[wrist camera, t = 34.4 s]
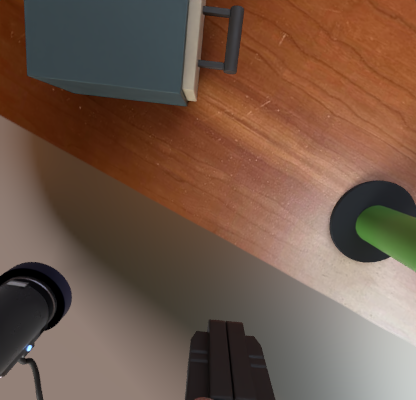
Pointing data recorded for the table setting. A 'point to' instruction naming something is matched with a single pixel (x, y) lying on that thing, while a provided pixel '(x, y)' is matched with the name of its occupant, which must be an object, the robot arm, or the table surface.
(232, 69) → the drawer
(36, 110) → the table surface
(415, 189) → the table surface
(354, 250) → the mat
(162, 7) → the cabinet
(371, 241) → the chip tube
